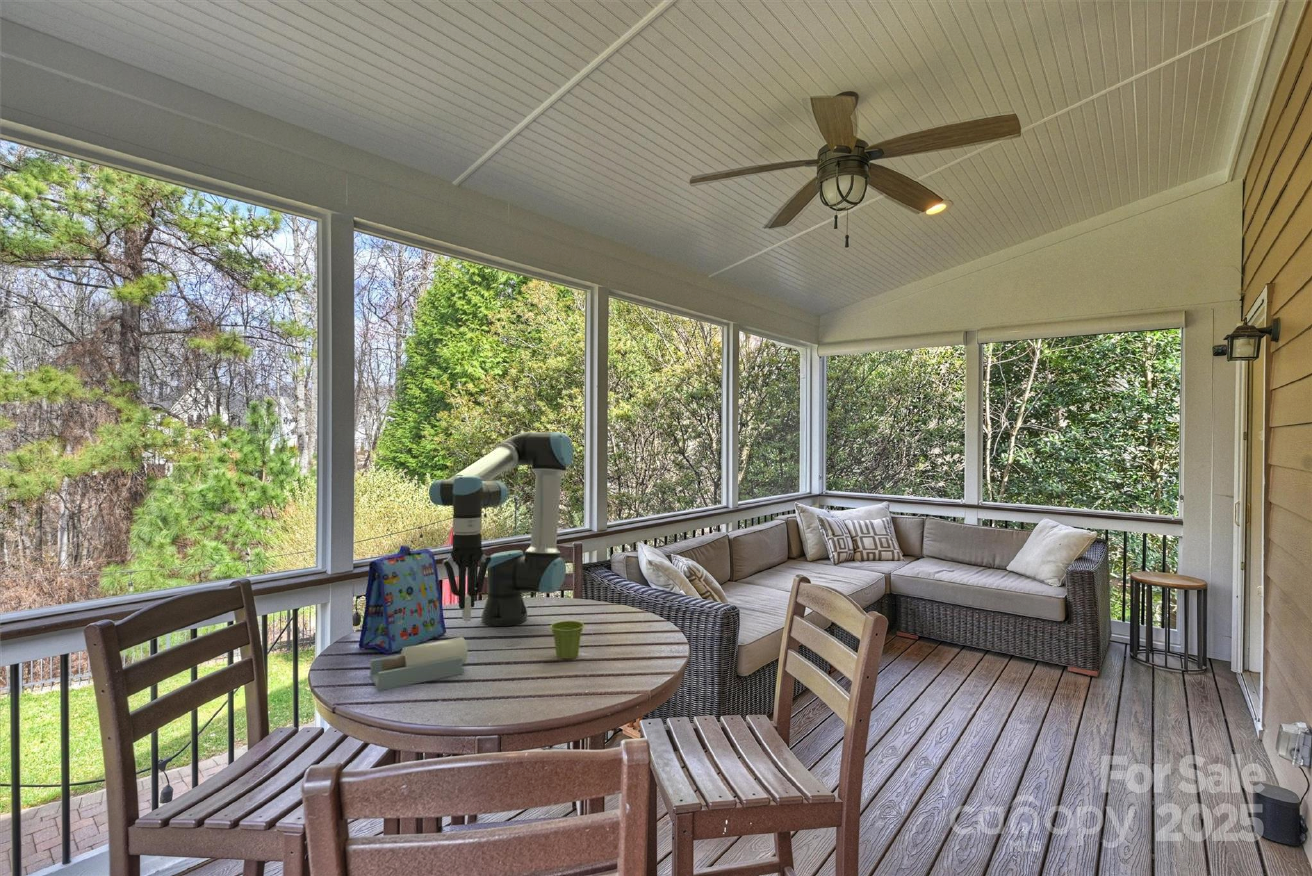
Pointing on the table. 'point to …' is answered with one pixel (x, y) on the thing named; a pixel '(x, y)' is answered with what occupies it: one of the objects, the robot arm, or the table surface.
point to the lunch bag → (402, 601)
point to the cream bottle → (428, 653)
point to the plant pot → (567, 638)
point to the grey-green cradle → (413, 672)
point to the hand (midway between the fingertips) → (466, 619)
